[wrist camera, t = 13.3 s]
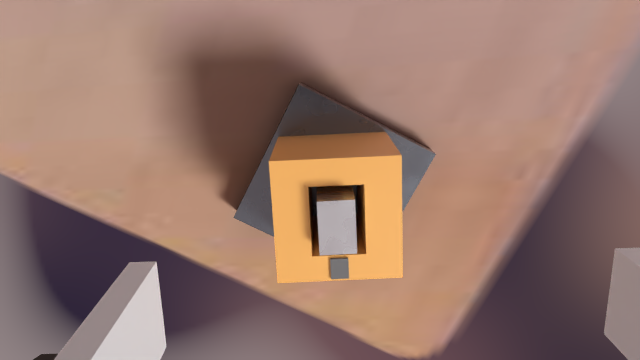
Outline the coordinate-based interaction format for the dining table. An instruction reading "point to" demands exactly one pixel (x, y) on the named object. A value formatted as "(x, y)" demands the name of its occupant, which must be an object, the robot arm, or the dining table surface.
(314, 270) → the orange slotted box
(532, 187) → the dining table surface
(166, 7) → the dining table surface
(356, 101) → the dining table surface
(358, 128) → the post plate
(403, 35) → the dining table surface
